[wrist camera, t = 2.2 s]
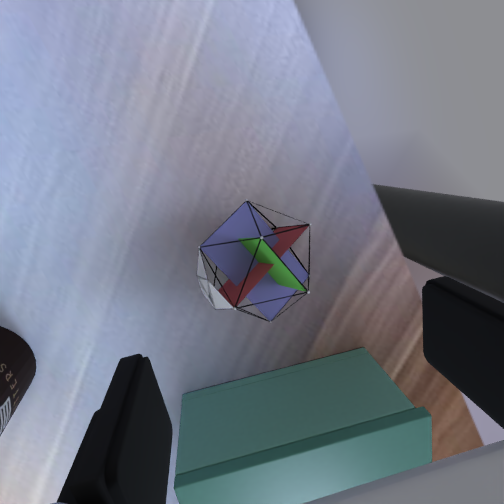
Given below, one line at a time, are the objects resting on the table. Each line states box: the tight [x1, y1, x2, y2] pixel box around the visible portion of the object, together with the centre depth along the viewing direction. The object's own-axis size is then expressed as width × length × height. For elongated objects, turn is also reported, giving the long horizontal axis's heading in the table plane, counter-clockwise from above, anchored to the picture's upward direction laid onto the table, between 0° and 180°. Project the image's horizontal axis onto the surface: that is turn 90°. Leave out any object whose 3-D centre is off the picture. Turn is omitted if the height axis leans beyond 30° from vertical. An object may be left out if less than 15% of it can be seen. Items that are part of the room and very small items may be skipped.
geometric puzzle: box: [197, 199, 312, 323], centre depth 20 cm, size 7×7×8 cm
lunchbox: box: [175, 347, 415, 476], centre depth 24 cm, size 16×13×7 cm
